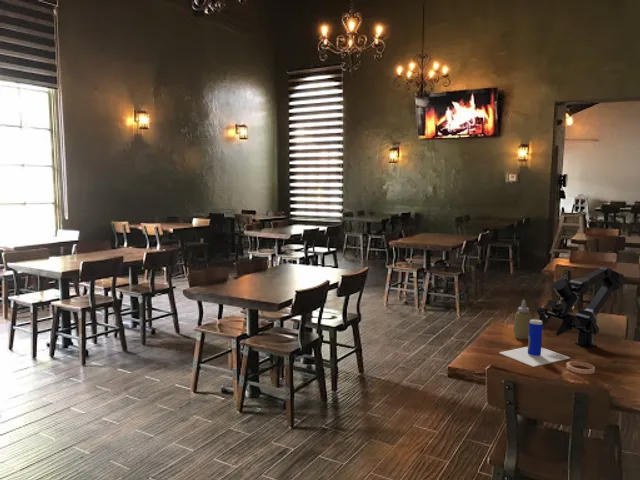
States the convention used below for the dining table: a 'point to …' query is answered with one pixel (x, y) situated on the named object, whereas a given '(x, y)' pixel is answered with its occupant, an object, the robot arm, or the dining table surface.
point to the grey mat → (525, 358)
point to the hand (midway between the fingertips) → (547, 332)
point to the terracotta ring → (581, 371)
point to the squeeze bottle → (522, 322)
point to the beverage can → (535, 337)
